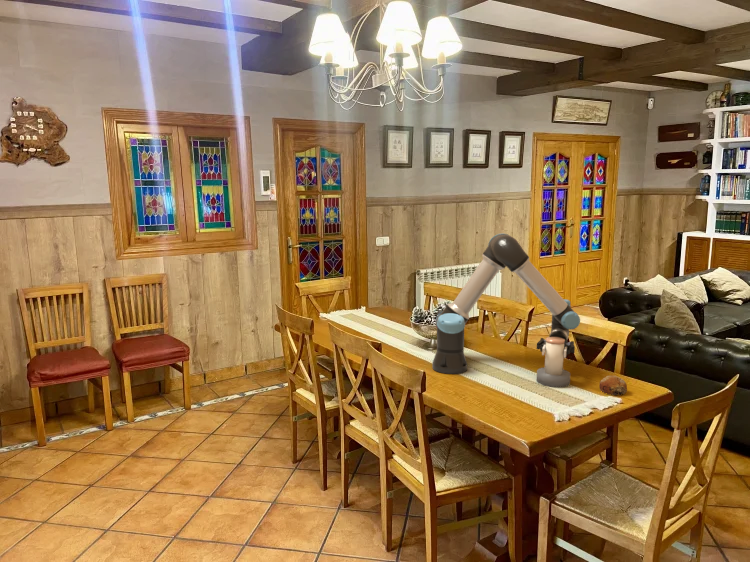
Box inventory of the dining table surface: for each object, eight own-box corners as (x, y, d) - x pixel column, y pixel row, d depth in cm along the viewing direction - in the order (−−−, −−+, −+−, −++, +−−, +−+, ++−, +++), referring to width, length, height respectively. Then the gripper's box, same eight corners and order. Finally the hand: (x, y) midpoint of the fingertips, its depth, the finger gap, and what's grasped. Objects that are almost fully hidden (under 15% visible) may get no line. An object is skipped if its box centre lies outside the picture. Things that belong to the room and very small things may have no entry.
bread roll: (626, 399, 217) (627, 379, 219) (626, 396, 208) (628, 375, 210) (598, 395, 221) (600, 375, 223) (598, 392, 212) (600, 372, 214)
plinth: (547, 388, 218) (547, 378, 217) (530, 377, 230) (531, 368, 230) (576, 385, 221) (577, 376, 220) (558, 375, 234) (558, 366, 233)
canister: (550, 375, 221) (552, 341, 219) (540, 370, 228) (542, 337, 226) (566, 374, 223) (568, 340, 220) (556, 369, 230) (558, 336, 227)
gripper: (582, 350, 237) (580, 365, 216) (533, 344, 244) (526, 359, 224) (583, 333, 236) (581, 346, 215) (534, 328, 243) (527, 341, 222)
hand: (553, 353), depth 219 cm, fingers open, 7 cm apart
